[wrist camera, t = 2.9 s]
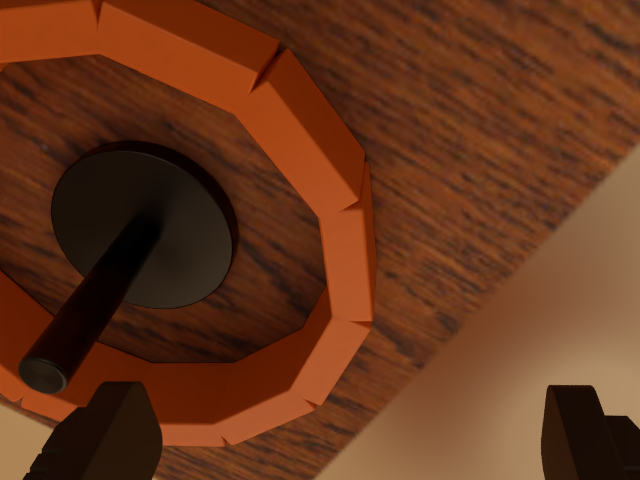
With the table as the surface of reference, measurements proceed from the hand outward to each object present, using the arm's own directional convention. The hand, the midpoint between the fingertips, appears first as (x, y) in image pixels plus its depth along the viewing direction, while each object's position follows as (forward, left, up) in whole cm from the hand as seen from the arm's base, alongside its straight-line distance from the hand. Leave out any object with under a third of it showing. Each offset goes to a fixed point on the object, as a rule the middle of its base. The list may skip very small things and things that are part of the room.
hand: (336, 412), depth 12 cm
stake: (-7, 0, -8) cm, 11 cm away
